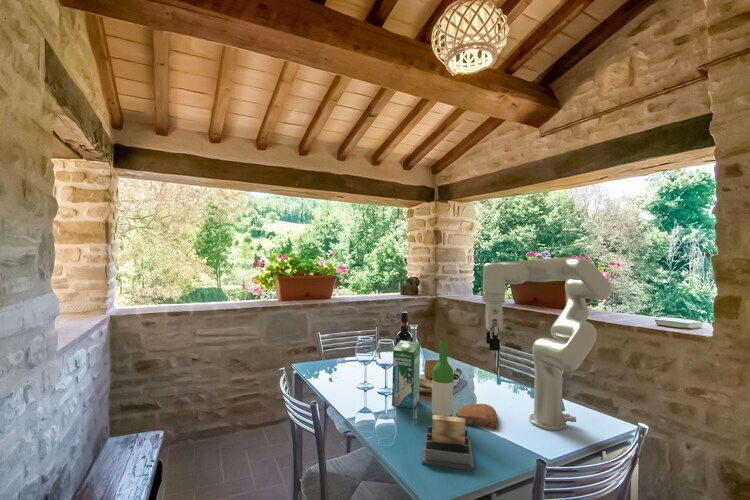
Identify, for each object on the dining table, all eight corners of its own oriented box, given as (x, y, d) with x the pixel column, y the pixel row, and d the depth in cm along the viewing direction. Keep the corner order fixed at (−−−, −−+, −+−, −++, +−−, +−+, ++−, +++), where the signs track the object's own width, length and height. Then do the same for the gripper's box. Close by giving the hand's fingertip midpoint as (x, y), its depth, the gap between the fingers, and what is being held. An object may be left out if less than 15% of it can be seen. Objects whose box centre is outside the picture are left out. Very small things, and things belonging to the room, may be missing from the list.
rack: (470, 441, 126) (470, 429, 126) (473, 470, 109) (474, 456, 109) (424, 436, 128) (425, 424, 128) (421, 463, 112) (422, 450, 112)
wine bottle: (456, 424, 138) (458, 342, 138) (436, 427, 136) (439, 343, 136) (446, 416, 145) (448, 338, 146) (427, 418, 143) (429, 338, 143)
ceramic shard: (457, 396, 153) (496, 405, 149) (455, 412, 152) (493, 422, 149) (457, 404, 139) (499, 416, 135) (454, 422, 138) (496, 434, 135)
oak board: (463, 447, 119) (464, 417, 120) (464, 453, 116) (465, 422, 116) (432, 444, 121) (432, 414, 121) (431, 449, 118) (432, 419, 118)
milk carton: (391, 405, 155) (393, 344, 155) (398, 397, 163) (400, 339, 163) (413, 409, 151) (414, 346, 152) (419, 401, 160) (420, 342, 160)
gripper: (508, 301, 123) (507, 354, 123) (501, 296, 140) (500, 342, 140) (485, 300, 124) (483, 352, 124) (480, 295, 141) (479, 340, 141)
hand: (492, 346), depth 132 cm, fingers open, 9 cm apart
